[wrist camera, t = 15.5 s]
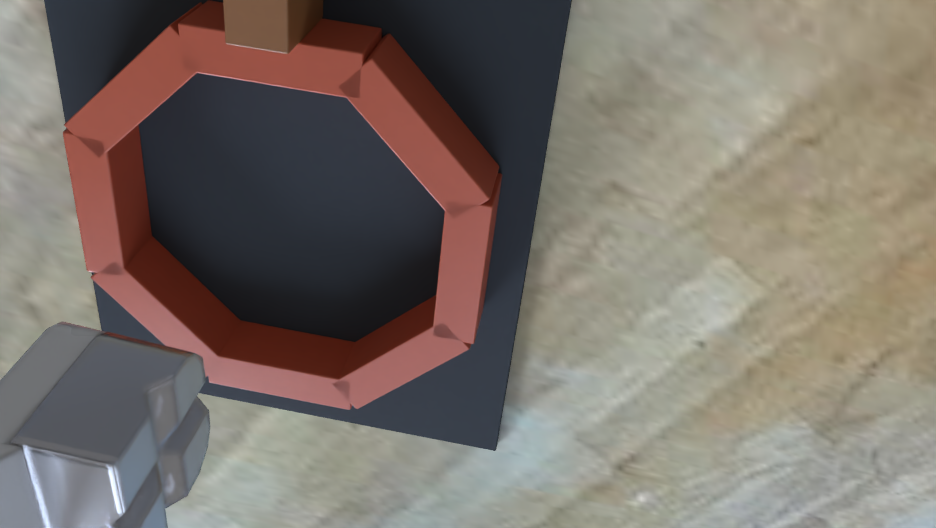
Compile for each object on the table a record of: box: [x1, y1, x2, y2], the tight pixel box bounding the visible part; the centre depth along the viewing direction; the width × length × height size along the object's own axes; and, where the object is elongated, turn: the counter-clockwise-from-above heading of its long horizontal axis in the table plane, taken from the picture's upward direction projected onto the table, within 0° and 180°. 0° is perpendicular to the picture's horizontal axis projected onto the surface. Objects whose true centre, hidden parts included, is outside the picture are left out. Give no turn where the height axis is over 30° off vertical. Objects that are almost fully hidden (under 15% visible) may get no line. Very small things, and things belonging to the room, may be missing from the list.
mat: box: [44, 0, 572, 451], centre depth 34 cm, size 22×18×1 cm
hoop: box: [63, 0, 502, 410], centre depth 31 cm, size 21×15×4 cm
